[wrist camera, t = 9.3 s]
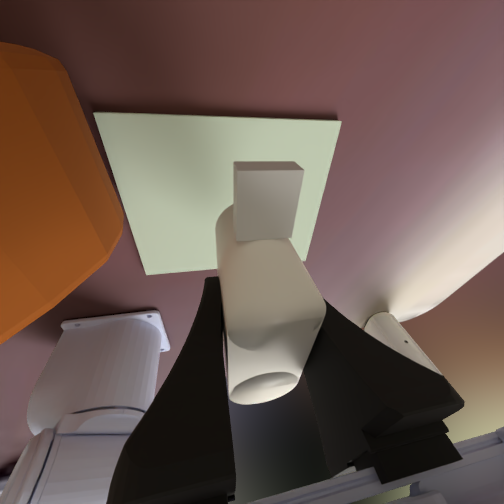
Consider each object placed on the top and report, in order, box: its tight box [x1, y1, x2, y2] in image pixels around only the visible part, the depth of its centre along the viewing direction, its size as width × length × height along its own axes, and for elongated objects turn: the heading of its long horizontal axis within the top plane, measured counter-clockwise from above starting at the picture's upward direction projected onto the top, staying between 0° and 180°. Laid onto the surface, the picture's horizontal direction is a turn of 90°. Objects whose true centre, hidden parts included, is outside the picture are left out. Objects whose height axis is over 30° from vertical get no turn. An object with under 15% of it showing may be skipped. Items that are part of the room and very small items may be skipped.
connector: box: [215, 161, 326, 404], centre depth 10 cm, size 3×11×6 cm, turn 177°
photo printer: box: [364, 312, 443, 376], centre depth 33 cm, size 10×4×12 cm, turn 4°
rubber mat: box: [93, 112, 342, 275], centre depth 19 cm, size 16×13×1 cm
